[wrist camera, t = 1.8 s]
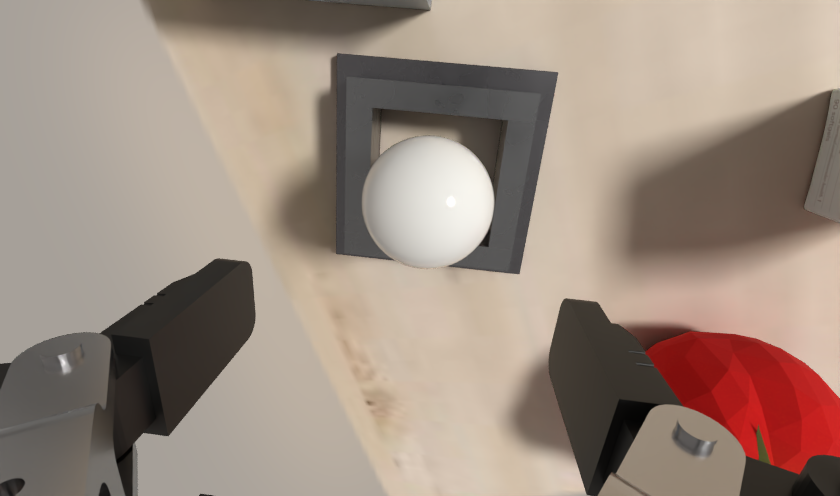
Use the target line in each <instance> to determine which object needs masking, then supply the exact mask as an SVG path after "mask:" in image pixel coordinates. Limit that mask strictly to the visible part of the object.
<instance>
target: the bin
mask: <svg viewBox="0 0 840 496" xmlns="http://www.w3.org/2000/svg"><path fill="white" fill-rule="evenodd" d="M310 1H323V2H335V3H348V4H360V5H373V6H385V7H398V8H410V9H423V10H431V0H310Z"/></svg>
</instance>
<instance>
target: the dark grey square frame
mask: <svg viewBox="0 0 840 496" xmlns="http://www.w3.org/2000/svg"><path fill="white" fill-rule="evenodd" d="M557 76H558V72H548V71H536V70H525V69H513V68H501V67H490V66H478V65H467V64H455V63H443V62H432V61H420V60H409V59H397V58H385V57H374V56H362V55H351V54H339V53H337V206H336V254H342V255H351V256H360V257H369V258H378V259H387V260H394V259H392V258H390V257H389V256H388V255H386V254H385V253H384V252H383V251H382V250H381V249H380V248H379V247H378V246H377V245H376V243H375V242H374V241H373V239H372V238H371V236H370V234H369V232H368V230H367V228H366V225H365V222H364V218H363V214H362V191H363V186H364V182H365V179H366V177H367V174H368V172H369V170H370V168H371V167H372V165H373V164H374V162H375V161H376V160H377V159H378V157H379V156H380V134H381V111H382V109H392V110H403V111H414V112H424V113H435V114H446V115H457V116H468V117H478V118H489V119H500V120H502V126H501V132H500V139H499V146H498V152H497V159H496V165H495V172H494V179H493V185H492V186H493V191H494V213H493V218H492V221H491V224H490V227H489V230H488V232H487V234H486V235H485V237H484V239H483V240H482V242H481V243H480V244H479V246H478V247H477V248H476V249H475V250H474V251H473V252H472V253H470V254H469V255H468V256H467V257H465V258H464V259H462V260H460V261H458V262H456V263H454V264H452V265H449V266H450V267H459V268H468V269H477V270H486V271H495V272H504V273H513V274H519V273H520V268H521V263H522V258H523V252H524V247H525V242H526V237H527V232H528V227H529V221H530V216H531V211H532V206H533V201H534V195H535V190H536V185H537V180H538V175H539V170H540V164H541V159H542V154H543V149H544V144H545V139H546V133H547V128H548V123H549V118H550V113H551V107H552V102H553V97H554V92H555V87H556V82H557Z"/></svg>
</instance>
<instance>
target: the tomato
mask: <svg viewBox="0 0 840 496" xmlns="http://www.w3.org/2000/svg"><path fill="white" fill-rule="evenodd" d="M645 352H646V353H645V354H646V355H648V356H649V358H650V359H651V360H652V362H653V363H654V367H656V368H657V369H658V371H659V372H660V373H661V375H662V376H663V378H664V379H665V381H666V382H667V383H668V385H669V386H670V388H671V389H672V391H673V392H674V394H675V395H676V396H677V398H678V399H679V401H680V402H681V404H682V405H683V406H684V407H686V408H689V409H692V410H695V411H697V412H700V413H702V414H704V415H706V416H708V417H710V418H711V419H713V420H715V421H716V422H718V423H719V424H720V425H722V426H723V427H724V428H726V429H727V430H728V431H729V432H730V433H731V434H732V435H733V436H734V437H735V438H736V439H737V440H738V442H739V443H740V444H741V446H742V448H743V450H744V452H745V456H748V457H751V458H753V459H756V460H759V461H762V462H765V463H768V464H771V465H774V466H777V467H779V468H782V469H785V470H788V471H791V472H794V473H797V474H800V473H801V471H802V469H803V468H804V466H805V464H806V463H807V461H808V459H809V458H811V457H812V456H816V455H831V456H836V457H840V398H839V397H838V396H837V395H836V394H835V393H834V392H833V391H832V389H831V388H830V387H829V386H828V385H827V384H826V383H825V382H824V381H823V379H822V378H821V377H820V376H819V375H818V374H817V373H816V372H815V371H813V370H812V369H811V368H810V367H809V366H807V365H806V364H805V363H804V362H802V361H800V360H799V359H797V358H795V357H794V356H792V355H791V354H789V353H787V352H786V351H784V350H782V349H781V348H778V347H776V346H773V345H771V344H768V343H766V342H763V341H761V340H758V339H755V338H750V337H745V336H741V335H736V334H724V333H709V332H693V331H690V332H687V333H684V334H681V335H678V336H676V337H673V338H670V339H667V340H664V341H661V342H658V343H656V344H655V345H653V346H652V347H651V348H649V349H648V350H647V351H645Z"/></svg>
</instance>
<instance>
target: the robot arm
mask: <svg viewBox="0 0 840 496" xmlns="http://www.w3.org/2000/svg"><path fill="white" fill-rule="evenodd" d="M254 324H255V302H254V290H253V277H252V269H251V266H250V264H249V263H248V262H245V261H236V260H228V259H215V260H213V261H212V262H211V263H209V264H208V265H207V266H205V267H204V268H202V269H201V270H199V272H197V273H195V274H193V275H191V276H188V277H186V278H183V279H181V280H178V281H176V282H173V283H171V284H170V285H168V286H167V287H166V288H164V289H163V290H161V291H160V292H159V293H157V296H153V297H151V298H150V299H148V300H147V301H146V302H144V305H140V306H138V307H137V308H136V309H134V310H133V311H131V312H130V313H128V314H127V315H125V316H124V317H122V318H121V319H120V320H118V321H117V322H115V323H114V324H112V325H111V326H110V327H109V328H107V329H105V330H104V331H102V332H101V333H99V334H98V333H90V332H89V333H87V332H86V333H85V332H83V333H73V334H67V335H63V336H59V337H55V338H52V339H49V340H46V341H43V342H41V343H39V344H37V345H34V346H33V347H30V348H29V349H27V350H25V351H24V352H22V353H21V354H20V355H18V356H17V357H16V358H15V359H14V360H13V361H12V363H4V364H0V496H138V489H137V487H138V478H137V476H138V475H137V474H138V471H137V449H136V445H135V441H136V440H137V439H138V438H139V437H140V436H141V435H142V434H143V433H148V434H156V435H163V436H169V435H170V433H171V432H172V431H173V430H174V429H175V427H176V426H177V425H178V424H179V423H180V421H181V420H182V419H183V418H184V416H185V415H186V414H187V413H188V411H189V410H190V409H191V408H192V407H193V406H194V404H195V403H196V402H197V401H198V399H199V398H200V397H201V396H202V395H203V393H204V392H205V391H206V390H207V389H208V387H209V386H210V385H211V384H212V382H213V381H214V380H215V379H216V378H217V376H218V375H219V374H220V373H221V372H222V370H223V369H224V368H225V367H226V366H227V364H228V363H229V362H230V361H231V359H232V358H233V357H234V356H235V355H236V353H237V352H238V351H239V350H240V348H241V347H242V346H243V345H244V344H245V342H246V341H247V340H248V338H249V337H250V336H251V333H252V331H253V328H254ZM645 353H646V352H645V350H644V349H643V348H642V346H641V345H640V343H639V342H638V340H637V339H636V338H635V337H634V336H633V335H632V334H630V333H629V332H628V331H626V330H625V329H624V328H622V327H621V326H620V325H619V324H612V323H611V322H610V321H609V319H608V318H607V316H606V315H605V313H604V311H603V310H602V308H601V307H600V305H599V304H598V303H597V302H593V301H584V300H575V299H567V298H566V299H564V300H563V302H562V304H561V307H560V310H559V315H558V319H557V323H556V327H555V331H554V335H553V339H552V344H551V348H550V352H549V374H550V378H551V382H552V385H553V388H554V391H555V394H556V398H557V401H558V404H559V407H560V410H561V414H562V417H563V420H564V423H565V426H566V430H567V433H568V436H569V439H570V442H571V446H572V449H573V452H574V455H575V459H576V462H577V465H578V468H579V471H580V475H581V478H582V481H583V484H584V487H585V491H586V494H587V495H590V496H840V457H836V456H831V455H816V456H812V457H811V458H809V459H808V461H807V463H806V464H805V466H804V468H803V469H802V471H801V473H800V474H797V473H794V472H791V471H788V470H785V469H782V468H779V467H777V466H774V465H771V464H768V463H765V462H762V461H759V460H756V459H753V458H751V457H748V456H745V452H744V450H743V448H742V446H741V444H740V443H739V442H738V440H737V439H736V438H735V437H734V436H733V435H732V434H731V433H730V432H729V431H728V430H727V429H726V428H724V427H723V426H722V425H720V424H719V423H718V422H716V421H715V420H713V419H711V418H710V417H708V416H706V415H704V414H702V413H700V412H697V411H695V410H692V409H689V408H686V407H684V406H683V405H682V404H681V402H680V401H679V399H678V398H677V396H676V395H675V394H674V392H673V391H672V389H671V388H670V386H669V385H668V383H667V382H666V381H665V379H664V378H663V376H662V375H661V373H660V372H659V371H658V369H657V368H656V367H654V363H653V362H652V360H651V359H650V358H649V356H648V355H646V354H645ZM199 496H212V495H204V494H200V495H199Z"/></svg>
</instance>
